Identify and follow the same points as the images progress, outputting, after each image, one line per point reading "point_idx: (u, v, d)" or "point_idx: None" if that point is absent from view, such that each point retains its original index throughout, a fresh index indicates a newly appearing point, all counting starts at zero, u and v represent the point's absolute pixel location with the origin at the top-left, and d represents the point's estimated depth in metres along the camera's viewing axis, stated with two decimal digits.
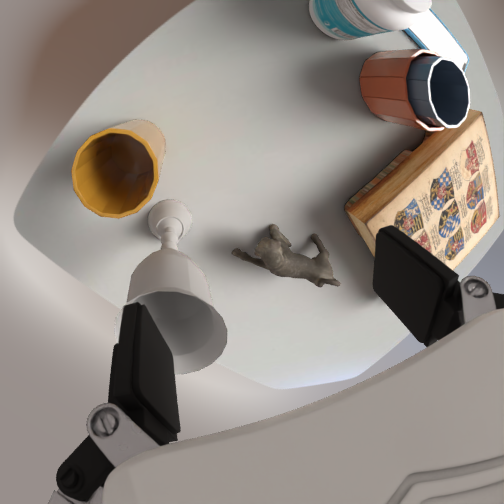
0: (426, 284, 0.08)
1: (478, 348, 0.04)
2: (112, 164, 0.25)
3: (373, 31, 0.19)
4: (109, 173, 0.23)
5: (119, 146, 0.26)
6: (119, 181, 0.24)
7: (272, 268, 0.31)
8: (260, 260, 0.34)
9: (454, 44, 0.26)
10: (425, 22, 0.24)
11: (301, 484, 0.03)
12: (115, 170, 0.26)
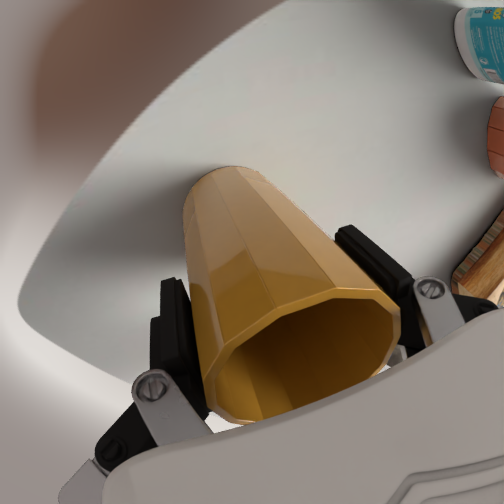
0: (379, 283, 0.09)
1: (478, 348, 0.04)
2: None
3: None
4: None
5: None
6: None
7: None
8: None
9: None
10: None
11: (301, 484, 0.03)
12: None
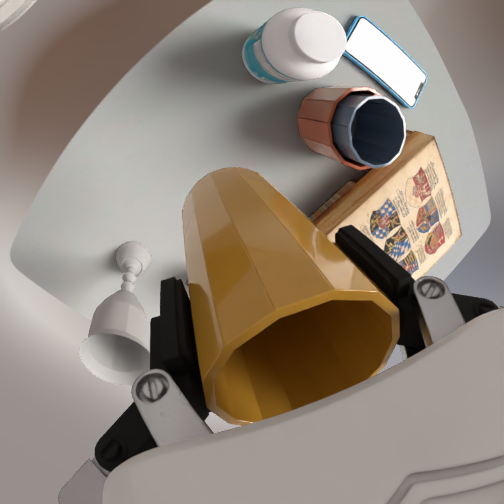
0: (378, 284, 0.09)
1: (478, 348, 0.04)
2: None
3: None
4: None
5: None
6: None
7: None
8: None
9: (409, 64, 0.31)
10: (373, 46, 0.29)
11: (301, 484, 0.03)
12: None
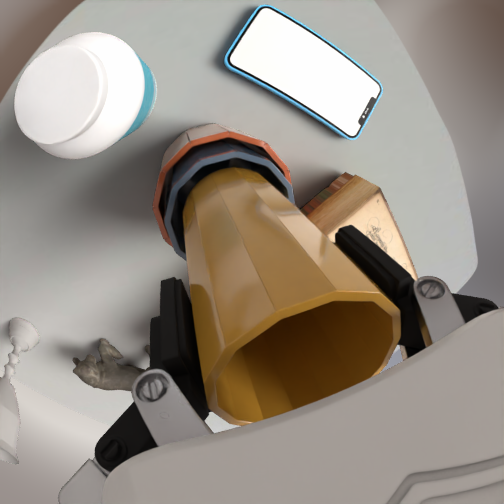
0: (379, 284, 0.09)
1: (478, 348, 0.04)
2: None
3: None
4: None
5: None
6: None
7: None
8: None
9: (350, 71, 0.22)
10: (283, 49, 0.20)
11: (300, 484, 0.03)
12: None
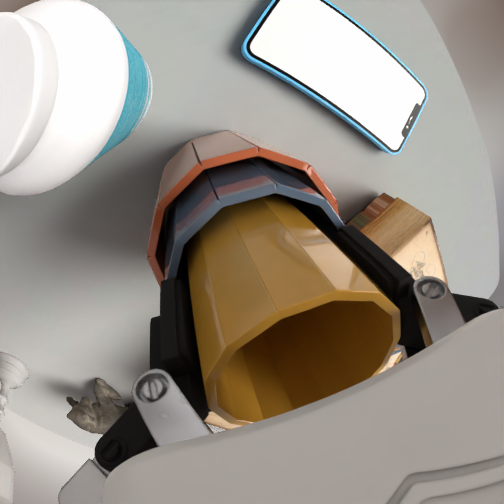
0: (379, 284, 0.09)
1: (478, 348, 0.04)
2: None
3: None
4: None
5: None
6: None
7: None
8: None
9: (394, 70, 0.17)
10: (317, 39, 0.15)
11: (301, 484, 0.03)
12: None
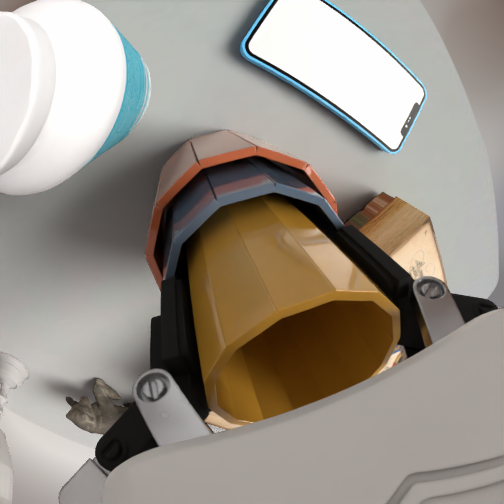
0: (378, 283, 0.09)
1: (478, 348, 0.04)
2: None
3: None
4: None
5: None
6: None
7: None
8: None
9: (393, 70, 0.17)
10: (315, 38, 0.15)
11: (300, 484, 0.03)
12: None
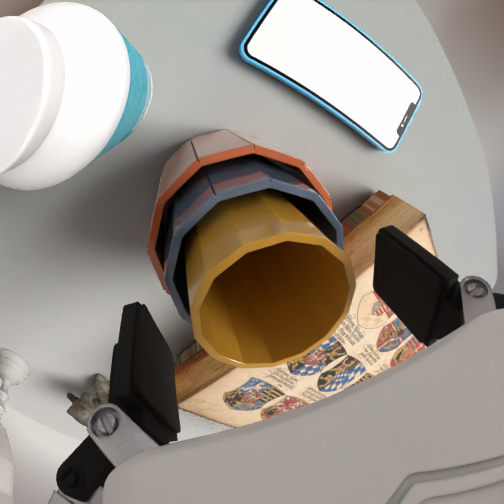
0: (426, 284, 0.08)
1: (478, 348, 0.04)
2: None
3: None
4: None
5: None
6: None
7: None
8: None
9: (389, 70, 0.18)
10: (312, 40, 0.16)
11: (301, 484, 0.03)
12: None
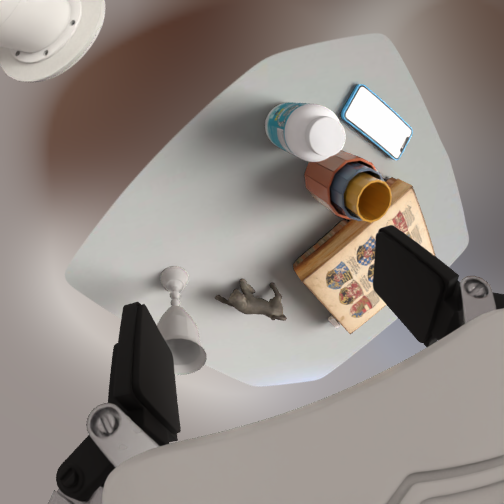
0: (426, 284, 0.08)
1: (478, 348, 0.04)
2: None
3: None
4: None
5: None
6: None
7: (239, 310, 0.48)
8: None
9: (398, 122, 0.43)
10: (368, 111, 0.41)
11: (300, 484, 0.03)
12: None
